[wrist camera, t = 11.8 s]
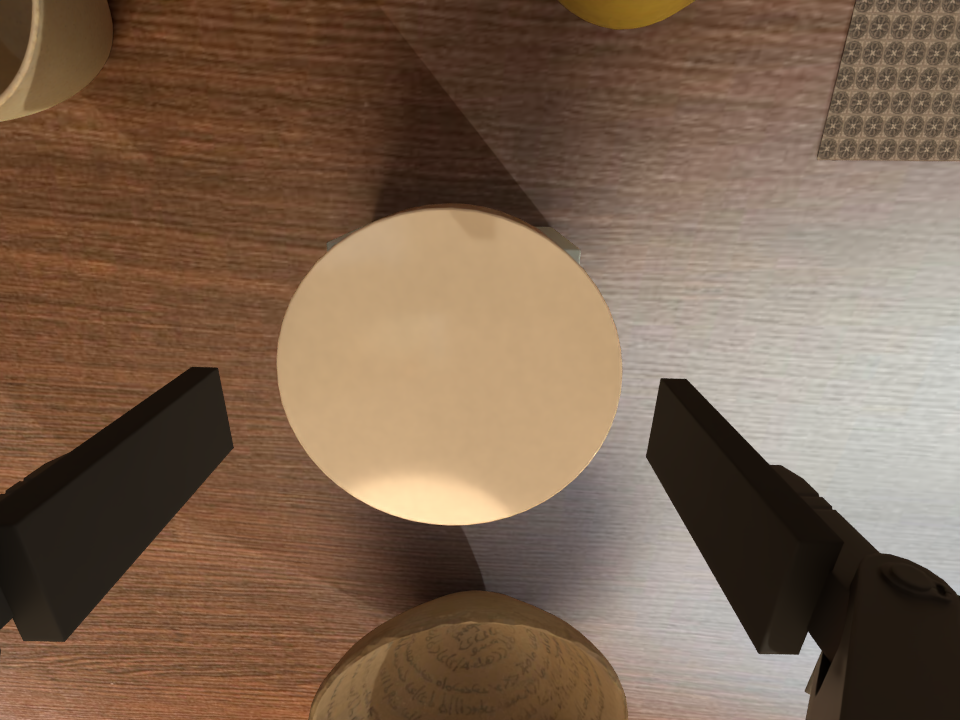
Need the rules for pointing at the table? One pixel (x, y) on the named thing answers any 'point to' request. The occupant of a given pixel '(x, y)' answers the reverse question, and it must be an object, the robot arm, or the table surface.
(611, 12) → the mug
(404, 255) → the small plate
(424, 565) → the table surface
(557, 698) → the bowl
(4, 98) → the flower pot
